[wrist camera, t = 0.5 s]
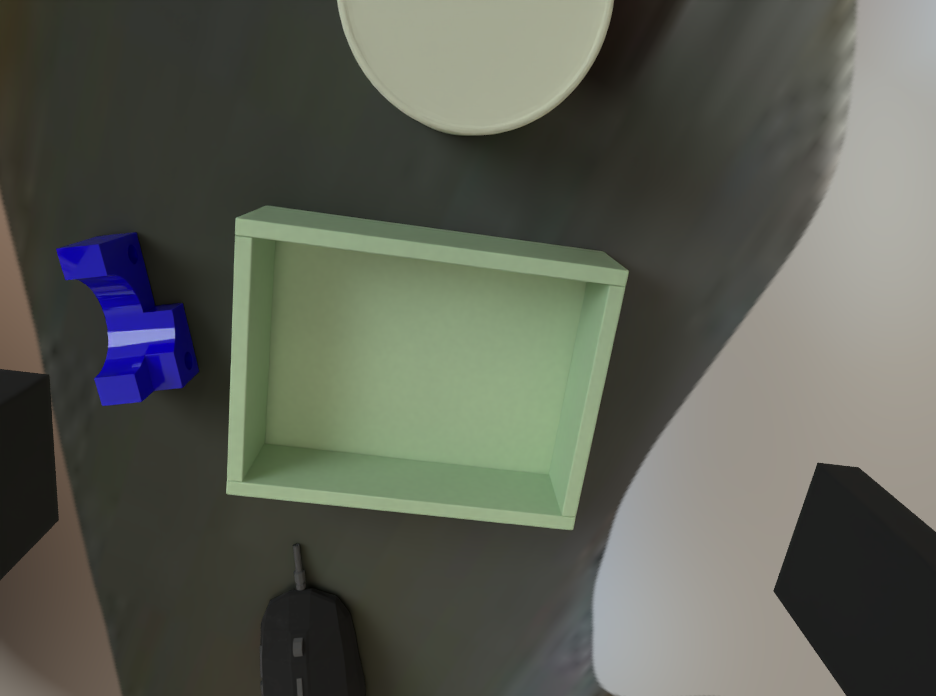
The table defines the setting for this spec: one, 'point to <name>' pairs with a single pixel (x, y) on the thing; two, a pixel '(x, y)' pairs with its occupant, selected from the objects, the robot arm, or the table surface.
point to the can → (475, 56)
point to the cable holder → (131, 320)
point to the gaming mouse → (309, 644)
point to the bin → (416, 367)
